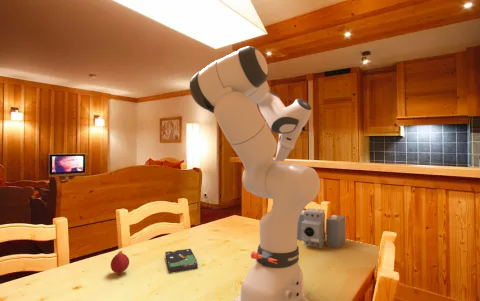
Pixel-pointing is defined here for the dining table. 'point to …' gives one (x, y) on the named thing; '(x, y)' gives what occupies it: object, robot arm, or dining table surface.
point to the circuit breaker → (313, 228)
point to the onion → (119, 263)
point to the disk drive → (181, 260)
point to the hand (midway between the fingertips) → (277, 153)
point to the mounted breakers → (329, 230)
